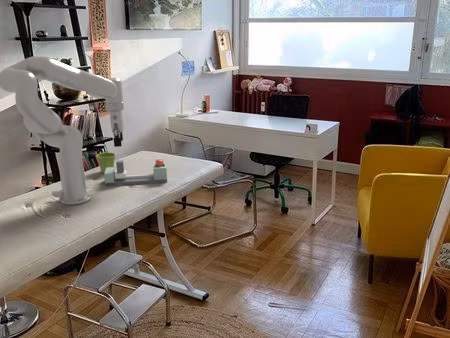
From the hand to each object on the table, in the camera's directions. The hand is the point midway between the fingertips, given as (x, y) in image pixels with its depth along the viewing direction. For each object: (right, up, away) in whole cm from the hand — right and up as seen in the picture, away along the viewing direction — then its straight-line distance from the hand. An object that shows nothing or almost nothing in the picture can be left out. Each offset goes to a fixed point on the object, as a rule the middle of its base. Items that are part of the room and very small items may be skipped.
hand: (118, 143), depth 203 cm
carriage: (0, -15, +5) cm, 16 cm away
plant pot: (-10, -13, +20) cm, 26 cm away
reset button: (+18, -10, +6) cm, 21 cm away
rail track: (+7, -17, +6) cm, 20 cm away
